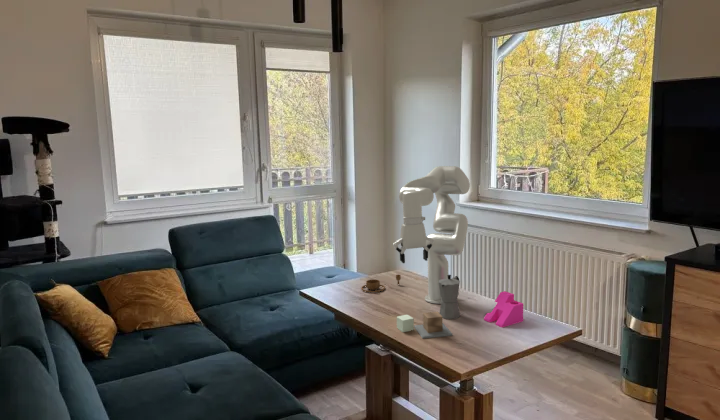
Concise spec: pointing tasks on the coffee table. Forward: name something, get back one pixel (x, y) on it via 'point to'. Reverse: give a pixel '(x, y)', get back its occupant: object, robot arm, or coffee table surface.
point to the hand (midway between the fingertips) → (414, 261)
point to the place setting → (376, 284)
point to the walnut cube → (432, 322)
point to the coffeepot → (449, 297)
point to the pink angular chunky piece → (506, 310)
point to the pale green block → (405, 323)
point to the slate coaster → (425, 334)
